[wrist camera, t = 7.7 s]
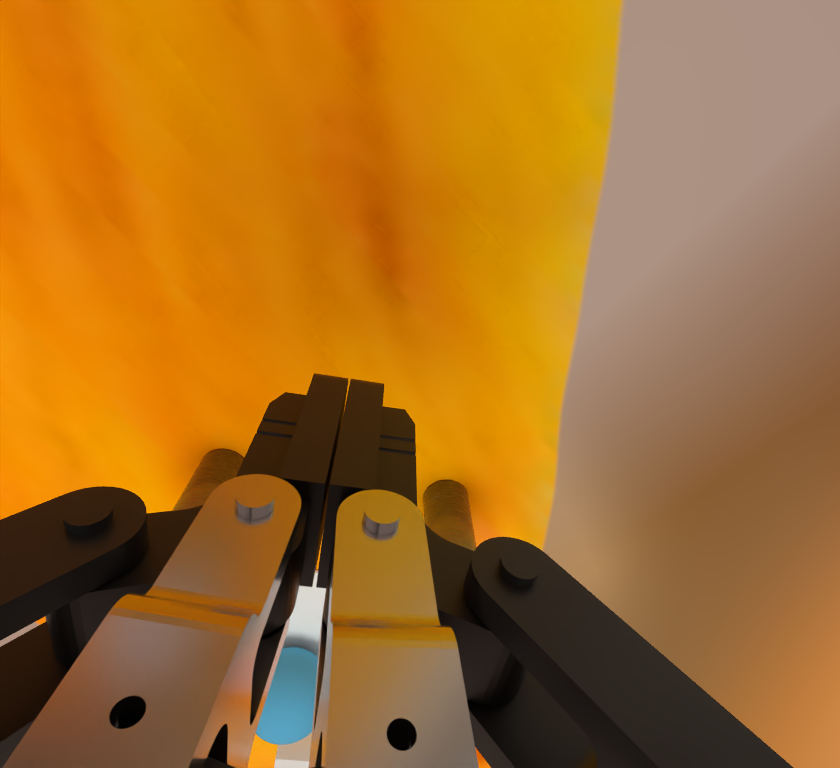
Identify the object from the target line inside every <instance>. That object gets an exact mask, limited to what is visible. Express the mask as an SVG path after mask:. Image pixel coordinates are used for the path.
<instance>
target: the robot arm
mask: <svg viewBox="0 0 840 768" xmlns="http://www.w3.org/2000/svg"><path fill="white" fill-rule="evenodd" d="M347 386H348V378H341V377H335V376H328V375H321V374H314V375H313V378H312V381H311V384H310V387H309V390H308V393H307V395H301V394H294V393H287V392H285V393H284V394H282V395H281V396H279V397H278V398H277V399H275V400H274V401H272V402H271V403H270V404H269V406H268V408H267V410H266V412H265V414H264V417H263V420H262V421H261V423H260V425H259V427H258V430H257V434H255V436H254V438H253V441H252V443H251V445H250V447H249V449H248V451H247V454H246V456H245V458H244V460H243V462H242V465H241V467H240V469H239V471H238V473H237V475H236V477H235V478H232V479H230V480H228V481H226V482H224V483H222V484H221V485H219V486H218V487H217V488H216V489H214V490H213V492H212V493H211V494H210V496H209V497H208V499H207V500H206V502H205V503H204V504H203V505H201V506H198V507H194V508H190V509H184V510H176V511H167V512H157V513H148V514H146V506H145V504H144V502H143V501H142V499H141V498H140V497H139V496H137V495H136V494H135V493H132V492H130V491H128V490H125V489H122V488H116V487H104V486H103V487H91V488H84V489H80V490H76V491H73V492H70V493H67V494H64V495H62V496H59V497H57V498H54V499H52V500H49V501H47V502H44V503H42V504H39V505H37V506H34V507H32V508H29V509H27V510H24V511H22V512H19V513H17V514H14V515H11V516H9V517H6V518H4V519H1V520H0V640H2V639H4V638H6V637H8V636H9V635H11V634H13V633H15V632H17V631H19V630H20V629H22V628H24V627H26V626H28V625H30V624H32V623H33V622H35V621H37V620H39V619H41V618H43V617H44V616H46V622H45V623H43V624H41V625H39V626H37V627H36V628H34V629H32V630H30V631H28V632H27V633H25V634H23V635H21V636H19V637H17V638H16V639H14V640H12V641H10V642H9V643H7V644H5V645H3V646H1V647H0V768H247V767H248V761H249V756H250V752H251V748H252V744H253V740H254V736H255V733H256V730H257V727H258V723H259V720H260V717H261V714H262V711H263V708H264V704H265V701H266V698H267V695H268V692H269V688H270V685H271V682H272V679H273V676H274V673H275V669H276V666H277V663H278V660H279V657H280V653H281V650H282V647H283V644H284V641H285V638H286V634H287V631H288V627H289V622H290V616H291V614H292V612H293V610H294V607H295V603H296V599H297V594H298V590H299V586H306V587H312V586H313V580H314V575H315V570H316V565H317V560H318V555H319V550H320V545H321V540H322V546H321V554H320V561H319V569H318V576H317V584H316V587H317V588H326V593H325V600H324V607H323V614H322V621H321V628H320V637H319V650H318V663H317V675H316V688H315V700H314V713H313V725H312V738H311V749H310V759H309V768H479V767H478V761H477V755H476V749H475V747H476V748H477V750H478V751H479V752H480V753H481V755H482V756H483V757H484V759H485V760H486V761H487V763H488V764H489V765H490V766H491V768H793V767H792V766H791V765H790V764H789V763H787V762H786V761H785V760H784V759H783V758H781V757H780V756H779V755H778V754H777V753H776V752H775V751H773V750H772V749H771V748H770V747H769V746H768V745H767V744H765V743H764V742H763V741H762V740H761V739H760V738H758V737H757V736H756V735H755V734H754V733H753V732H751V731H750V730H749V729H748V728H747V727H745V726H744V725H743V724H742V723H741V722H740V721H739V720H738V719H736V718H735V717H734V716H733V715H732V714H731V713H729V712H728V711H727V710H726V709H725V708H724V707H722V706H721V705H720V704H719V703H718V702H716V700H714V699H713V698H712V697H711V696H710V695H709V694H707V693H706V692H705V691H704V690H703V689H702V688H701V687H699V686H698V685H697V684H696V683H695V682H693V681H692V680H691V679H690V678H689V677H688V676H687V675H685V674H684V673H683V672H682V671H681V670H680V669H679V668H677V667H676V666H675V665H674V664H673V663H672V662H670V661H669V660H668V659H667V658H666V657H665V656H663V655H662V654H661V653H660V652H659V651H658V650H657V649H655V648H654V647H653V646H652V645H651V644H649V643H648V642H647V641H646V640H645V639H644V638H643V637H641V636H640V635H639V634H638V633H637V632H636V631H635V630H633V629H632V628H631V627H630V626H629V625H628V624H626V623H625V622H624V621H623V620H622V619H621V618H619V617H618V616H617V615H616V614H615V613H614V612H613V611H611V610H610V609H609V608H608V607H607V606H606V605H604V604H603V603H602V602H601V601H600V600H599V599H597V598H596V597H595V596H594V595H593V594H592V593H591V592H589V591H588V590H587V589H586V588H585V587H583V586H582V585H581V584H580V583H579V582H578V581H577V580H576V579H574V578H573V577H572V576H571V575H570V574H568V573H567V572H566V571H565V570H564V569H563V568H562V567H560V566H559V565H558V564H557V563H556V562H555V561H553V560H552V559H551V558H550V557H549V556H548V555H547V554H545V553H544V552H543V551H541V550H540V549H539V548H537V547H535V546H534V545H532V544H530V543H527V542H525V541H522V540H519V539H515V538H510V537H496V538H491V539H488V540H486V541H484V542H482V543H481V544H480V545H479V546H478V547H477V548H476V549H475V551H473V550H470V549H467V548H465V547H462V546H460V545H457V544H454V543H452V542H450V541H448V540H445V539H444V538H442V537H440V536H439V535H437V534H436V533H435V532H433V531H432V530H431V529H430V528H429V527H428V526H427V525H426V524H425V522H424V518H423V515H422V513H421V511H420V510H419V509H418V507H417V485H416V456H415V453H416V445H415V424H414V422H413V421H412V419H411V418H410V416H409V415H408V413H407V412H406V410H404V409H397V408H390V407H383V406H382V405H383V393H384V384H382V383H375V382H368V381H362V380H355V379H351V381H350V386H349V391H348V396H347V401H346V393H347ZM345 401H346V406H345ZM344 408H345V411H344ZM343 415H344V416H343ZM323 529H324V531H323ZM322 535H323V538H322Z"/></svg>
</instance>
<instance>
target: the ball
mask: <svg viewBox="0 0 840 768" xmlns="http://www.w3.org/2000/svg"><path fill="white" fill-rule="evenodd" d="M317 663H318V657H317V656H316V655H315V654H314V653H312V652H311V651H309V650H306V649H304V648H300V647H285V648H282V650H281V653H280V657H279V660H278V663H277V666H276V669H275V673H274V676H273V679H272V682H271V685H270V688H269V692H268V695H267V698H266V701H265V704H264V708H263V711H262V714H261V717H260V720H259V723H258V727H257V730H256V734H257V735H258V736H259V737H260V738H261V739H263V740H265V741H267V742H269V743H273V744H278V745H286V744H292V743H295V742H297V741H300V740H302V739H303V738H305V737H307V736H308V735H309V734H310V733H312V725H313V713H314V700H315V688H316V675H317Z"/></svg>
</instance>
